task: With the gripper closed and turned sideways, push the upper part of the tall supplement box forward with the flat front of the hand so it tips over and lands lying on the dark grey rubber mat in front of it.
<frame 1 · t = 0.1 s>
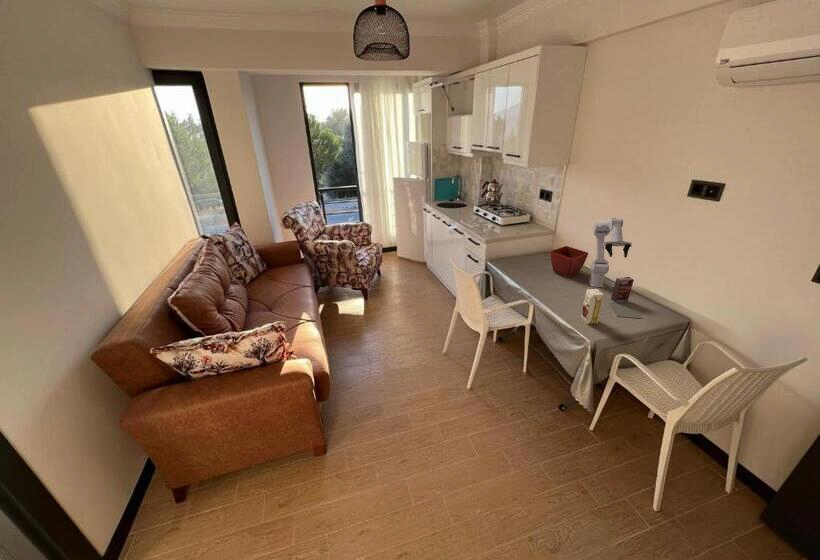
hand: (618, 256, 191), 32 cm above the table, tool tilted 50°, fingers open, 7 cm apart
plant pot: (565, 272, 249), on the table
mat: (625, 310, 197), on the table
juice carton: (589, 321, 189), on the table
supplement box: (619, 301, 208), on the table
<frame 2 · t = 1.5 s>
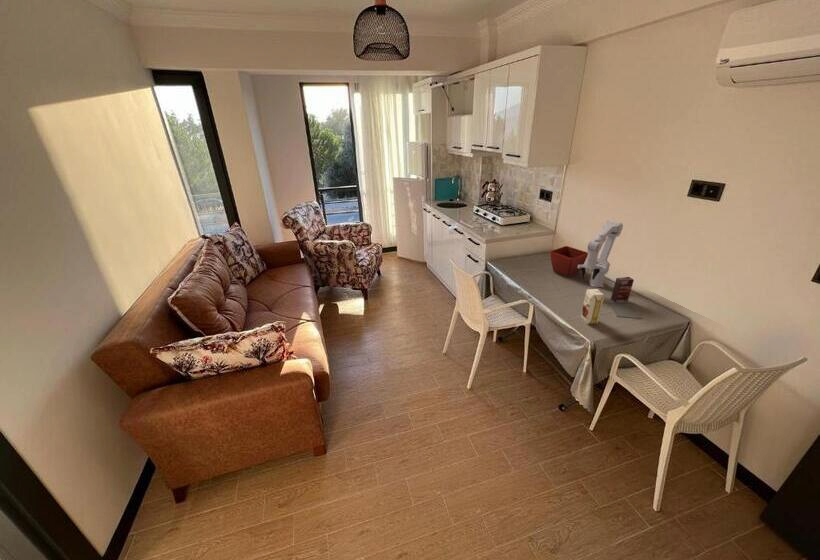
hand: (587, 278, 215), 10 cm above the table, tool pointing down, fingers open, 5 cm apart
nothing on the table moved.
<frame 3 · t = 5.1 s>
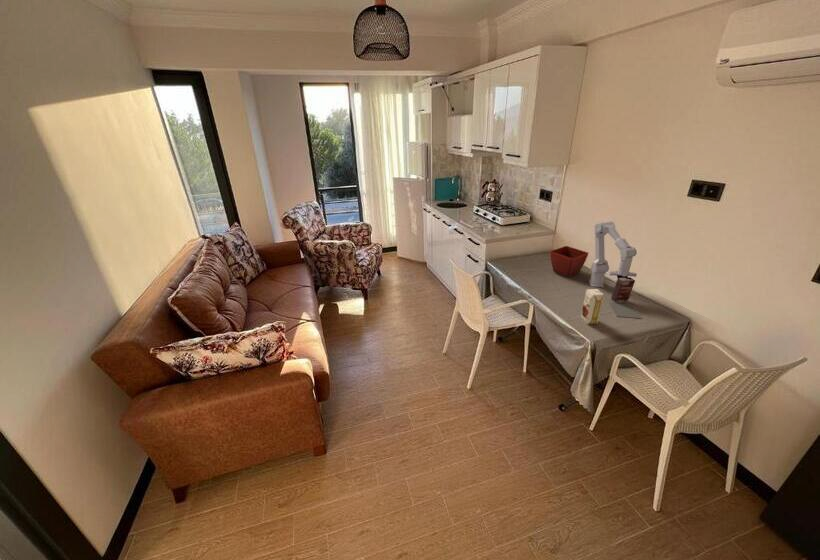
hand: (619, 285, 208), 8 cm above the table, tool pointing down, fingers closed
supplement box: (619, 301, 208), on the table, touching gripper
everything else where it was.
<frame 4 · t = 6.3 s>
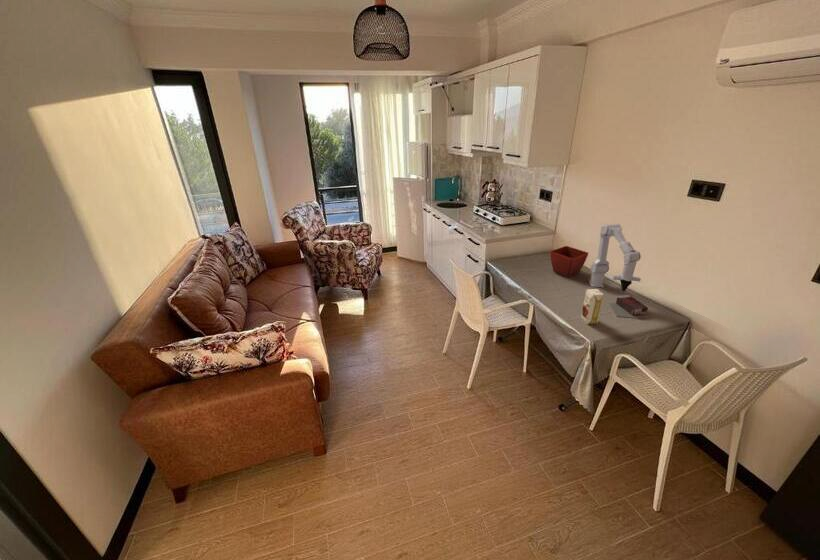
hand: (623, 290, 202), 8 cm above the table, tool pointing down, fingers closed
supplement box: (622, 298, 205), point 3 cm above the table, touching mat
everything else where it was.
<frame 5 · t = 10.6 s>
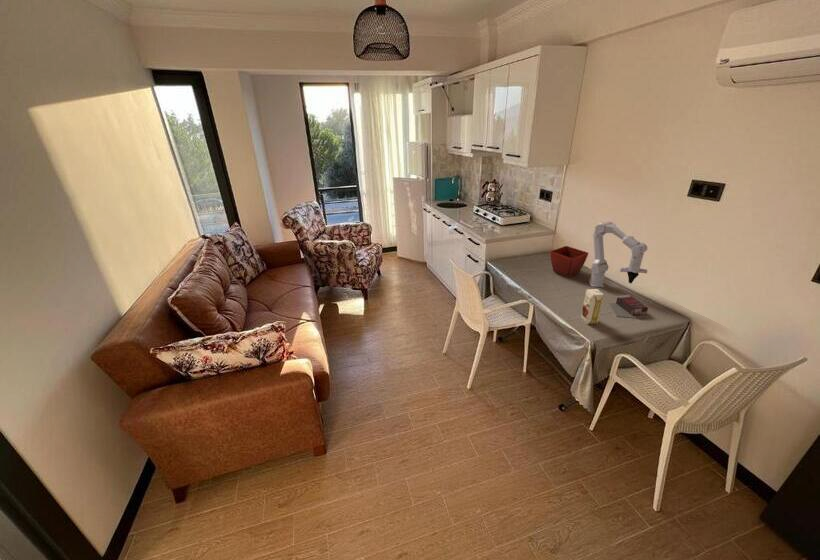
hand: (630, 282, 207), 10 cm above the table, tool pointing down, fingers closed
nothing on the table moved.
at the end: supplement box tilted 89°; supplement box inside the target area (8.2 cm from its centre), point 2.7 cm above the table; the gripper is holding nothing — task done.
